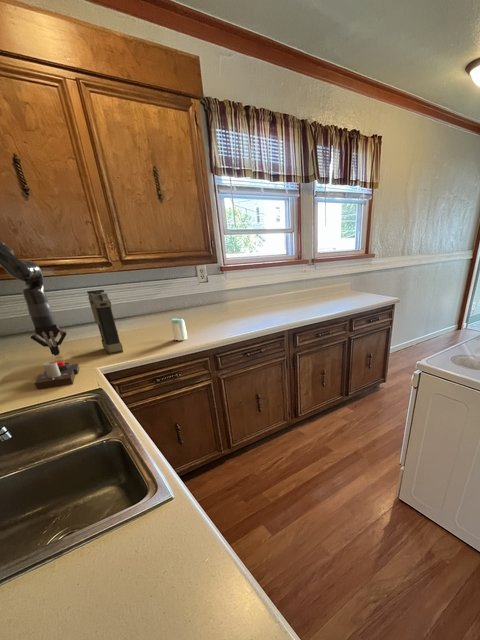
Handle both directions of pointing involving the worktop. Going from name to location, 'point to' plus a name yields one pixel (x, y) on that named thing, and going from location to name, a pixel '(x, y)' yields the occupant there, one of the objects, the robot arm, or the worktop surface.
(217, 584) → the worktop surface
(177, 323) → the can
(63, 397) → the worktop surface
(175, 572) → the worktop surface
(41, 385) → the panel
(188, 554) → the worktop surface
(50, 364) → the white cup
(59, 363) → the power button
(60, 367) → the switch block
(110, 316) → the device
